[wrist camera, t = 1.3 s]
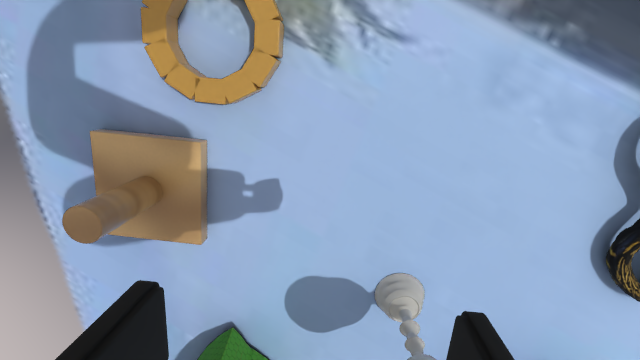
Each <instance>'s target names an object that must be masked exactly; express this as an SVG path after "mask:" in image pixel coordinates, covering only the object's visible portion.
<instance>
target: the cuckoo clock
mask: <svg viewBox="0 0 640 360" xmlns="http://www.w3.org/2000/svg"><path fill="white" fill-rule="evenodd" d="M197 360H268V359H267V358H265V357H264V356H262V355H261V354H260V353H258V352H257V351H255V350H254V349H252V348H250V347H249V346H248V344H247V343H246V342H245V341H244V339H243V338H242V336H241V335H240V334H239V333H238V332H237V331H236V330H235V329H234V328H233V327H232V328H231V329H229V330H227V331H226V332H224V333H223V334H221V335H219V336H218V337H217V338H216V339H215V340H214V341H213V342H212V343H210V344H209V345H208V346H207V347H206V349H205V350H204V351H203V353H202V354H201V355H200V357H199V358H198V359H197Z"/></svg>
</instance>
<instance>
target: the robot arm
mask: <svg viewBox="0 0 640 360" xmlns="http://www.w3.org/2000/svg"><path fill="white" fill-rule="evenodd" d="M168 356H169V353H168V339H167V326H166V313H165V299H164V289H163V288H162V287H159V284H158V283H157V282H151V281H141V280H140V281H137V282H135V283H134V284H133V285H132V286H131V287H130V288H129V289H128V290H127V291H126V292H125V293H124V294H123V295H122V296H121V297H120V298H119V299H118V300H117V301H116V302H115V303H113V304H112V305H111V306H110V307H109V308H108V309H107V310H106V311H105V312H104V313H103V314H102V315H101V316H100V317H99V318H98V319H97V320H96V321H95V322H94V323H93V324H92V325H91V326H90V327H89V328H88V329H86V330H85V331H84V332H83V333H82V334H81V335H80V336H79V337H78V338H77V339H76V340H75V341H74V342H73V343H72V344H71V345H70V346H69V347H68V348H67V349H66V350H65V351H64V352H63V353H62V354H61V355H60V356H58V357H57V358H56V359H55V360H168ZM446 360H514V358H513V357H512V355H511V354H510V352H509V351H508V349H507V348H506V346H505V345H504V343H503V341H502V340H501V338H500V337H499V335H498V334H497V332H496V331H495V329H494V328H493V326H492V324H491V323H490V321H489V320H488V318H487V317H486V315H485V314H483V313H478V312H467V311H464V312H463V313H462V315H461V316H457V317H456V319H455V323H454V328H453V332H452V337H451V341H450V346H449V350H448V355H447V359H446Z"/></svg>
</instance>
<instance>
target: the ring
mask: <svg viewBox="0 0 640 360" xmlns="http://www.w3.org/2000/svg"><path fill="white" fill-rule="evenodd" d="M244 1H245V3H246V5H247V7H248V9H249V12H250V14H251V16H252V18H253V20H254V22H255V30H254V49H253V51H252V52H251V54H250V56H249V57H248V59H247V61H246V62H245V64H244V66H243V67H242V69H240V70H238V71H237V72H235V73H233V74H231V75H229V76H227V77H225V78H223V79H216V78H207V77H206V76H205V75H203V74H202V73H200V72H199V71H197V70H196V69H195V68H193V67H192V66H190V65H189V63H188V62H187V60H186V58H185V56H184V54H183V52H182V50H181V48H180V46H179V44H178V18H179V16H180V14H181V12H182V10H183V8H184V6H185V4H186V2H187V0H143V1H142V3H143V4H145V5H146V6H147V7H149V8H147V7H141V21H142V41H143V43H147V44H149V45H147V46H145V50H146V51H147V53H148V55H149V57H150V59H151V60H152V62H153V64H154V66H155V68H156V70H157V71H158V73H159V75H160V77H163V78H165V80H164V81H165V82H166V83H167V84H169V85H170V86H172V87H173V88H175V89H176V90H178V91H179V92H180V93H182V94H183V95H185V96H186V97H188V98H189V99H195V101H196V102H206V103H215V104H232V103H237V102H239V101H241V100H243V99H245V98H247V97H249V96H251V95H253V94H255V93H257V92H260V91H261V88H260V87H265V86H266V85H267V83H268V82H269V80H270V79H271V77H272V75H273V74H274V72H275V71H276V69H277V68H278V66H279V64H280V61H279V60H278V59H276V58H275V57H277V58H282V54H283V37H284V25H283V23H282V22H281V21H283V18H282V16H281V14H280V11H279V9H278V7H277V5H276V2H275V0H244Z"/></svg>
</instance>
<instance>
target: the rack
mask: <svg viewBox="0 0 640 360" xmlns="http://www.w3.org/2000/svg"><path fill="white" fill-rule="evenodd" d="M90 137H91V147H92V157H93V167H94V177H95V187H96V196H95V197H93V198H91V199H89V200H86V201H84V202H82V203H80V204H77V205H75V206H73V207H71V208H69V209H68V210H67V211H66V212H65V213H64V215H63V219H62V223H63V227H64V229H65V231H66V233H67V234H68V235H69V236H70V237H71V238H72V239H74V240H75V241H77V242H80V243H86V244H87V243H93V242H95V241H97V240H99V239H100V238H102V237H103V236H105V235H107V234H109V235H117V236H126V237H135V238H144V239H153V240H162V241H171V242H180V243H189V244H198V245H202V243H203V242H204V241H205V240H206V239H207V140H202V139H192V138H183V137H173V136H163V135H154V134H144V133H134V132H125V131H115V130H105V129H99V130H93V131H90Z"/></svg>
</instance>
